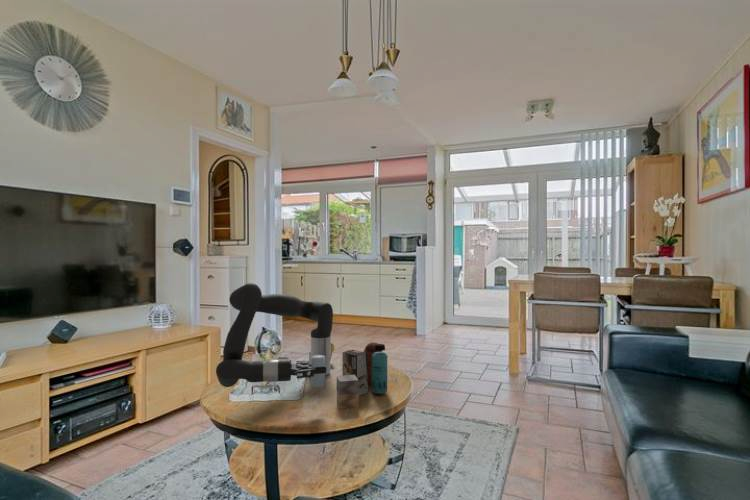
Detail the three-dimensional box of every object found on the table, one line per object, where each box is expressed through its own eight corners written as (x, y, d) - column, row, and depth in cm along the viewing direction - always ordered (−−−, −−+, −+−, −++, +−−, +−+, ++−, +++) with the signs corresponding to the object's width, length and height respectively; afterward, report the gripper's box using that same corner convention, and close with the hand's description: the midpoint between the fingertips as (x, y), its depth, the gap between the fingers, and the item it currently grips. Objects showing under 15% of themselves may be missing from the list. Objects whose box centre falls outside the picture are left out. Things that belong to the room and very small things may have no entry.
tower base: (339, 408, 150) (339, 395, 150) (336, 402, 157) (336, 388, 157) (358, 407, 152) (358, 393, 152) (355, 400, 158) (355, 387, 158)
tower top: (339, 395, 150) (339, 381, 150) (336, 389, 157) (336, 375, 157) (358, 393, 152) (358, 380, 152) (354, 387, 158) (354, 374, 158)
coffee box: (368, 392, 167) (368, 352, 168) (357, 396, 163) (357, 355, 163) (352, 387, 174) (352, 349, 174) (341, 391, 169) (341, 351, 169)
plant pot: (335, 361, 216) (335, 342, 216) (332, 366, 206) (332, 346, 206) (315, 360, 217) (316, 341, 217) (311, 365, 207) (311, 346, 207)
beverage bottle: (371, 391, 169) (371, 342, 169) (387, 391, 168) (388, 342, 169) (370, 397, 162) (371, 346, 162) (387, 397, 162) (388, 346, 162)
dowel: (308, 385, 147) (308, 357, 147) (317, 381, 152) (317, 354, 152) (318, 388, 145) (318, 359, 145) (328, 384, 149) (328, 356, 149)
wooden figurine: (388, 386, 175) (388, 343, 175) (376, 389, 171) (376, 346, 171) (370, 379, 184) (370, 339, 184) (359, 382, 180) (359, 341, 180)
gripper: (276, 365, 138) (327, 362, 142) (277, 354, 152) (324, 352, 156) (276, 387, 138) (327, 384, 142) (277, 374, 152) (324, 372, 156)
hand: (325, 367), depth 149 cm, fingers closed on dowel, 5 cm apart
